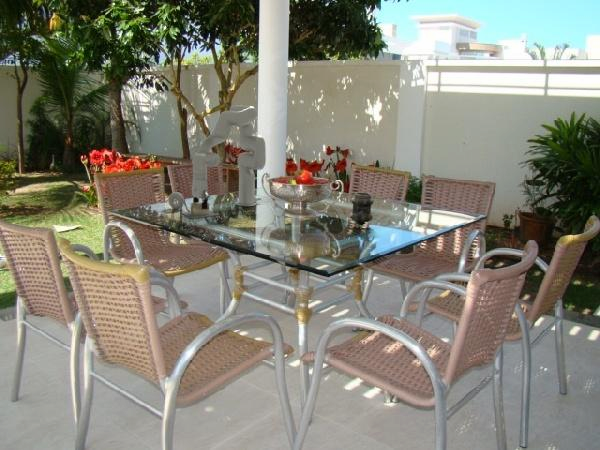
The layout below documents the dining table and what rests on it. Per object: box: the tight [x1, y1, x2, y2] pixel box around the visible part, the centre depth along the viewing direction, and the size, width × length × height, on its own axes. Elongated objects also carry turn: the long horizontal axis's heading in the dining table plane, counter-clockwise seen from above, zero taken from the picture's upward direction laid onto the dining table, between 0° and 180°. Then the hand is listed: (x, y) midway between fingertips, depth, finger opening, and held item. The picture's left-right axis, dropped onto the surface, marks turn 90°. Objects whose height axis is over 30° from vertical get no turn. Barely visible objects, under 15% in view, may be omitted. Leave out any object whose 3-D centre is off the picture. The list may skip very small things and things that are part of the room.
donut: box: [168, 191, 185, 210], centre depth 318 cm, size 10×3×10 cm, turn 67°
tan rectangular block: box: [190, 201, 210, 215], centre depth 307 cm, size 4×9×6 cm, turn 128°
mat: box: [180, 210, 220, 220], centre depth 307 cm, size 16×14×1 cm
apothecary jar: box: [349, 191, 374, 225], centre depth 294 cm, size 12×12×18 cm
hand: (200, 207), depth 307 cm, fingers open, 9 cm apart
